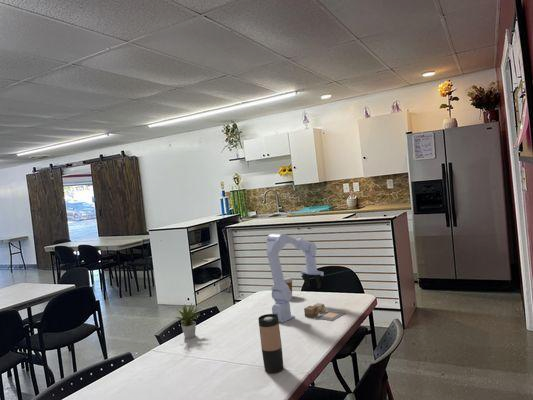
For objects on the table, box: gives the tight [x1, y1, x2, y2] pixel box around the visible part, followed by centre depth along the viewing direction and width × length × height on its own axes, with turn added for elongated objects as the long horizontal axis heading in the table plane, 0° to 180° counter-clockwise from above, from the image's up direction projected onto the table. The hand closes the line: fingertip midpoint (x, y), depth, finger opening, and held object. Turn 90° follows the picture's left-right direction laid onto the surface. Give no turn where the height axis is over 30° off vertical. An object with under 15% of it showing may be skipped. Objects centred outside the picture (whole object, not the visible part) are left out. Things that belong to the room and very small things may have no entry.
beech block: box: [313, 302, 326, 314], centre depth 209 cm, size 4×4×4 cm
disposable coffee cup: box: [283, 275, 293, 293], centre depth 243 cm, size 10×10×12 cm
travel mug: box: [257, 313, 284, 375], centre depth 148 cm, size 8×8×20 cm
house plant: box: [175, 303, 202, 339], centre depth 193 cm, size 14×14×16 cm
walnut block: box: [303, 305, 320, 319], centre depth 204 cm, size 5×5×4 cm
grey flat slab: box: [315, 310, 346, 322], centre depth 200 cm, size 12×10×1 cm
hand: (313, 287), depth 221 cm, fingers open, 7 cm apart
